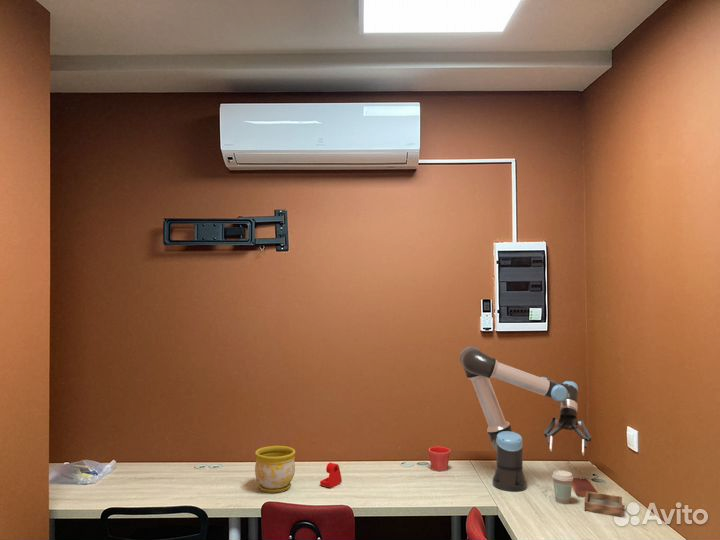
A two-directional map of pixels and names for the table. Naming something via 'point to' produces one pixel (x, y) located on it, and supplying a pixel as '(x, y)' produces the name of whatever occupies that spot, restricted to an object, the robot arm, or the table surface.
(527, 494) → the table surface
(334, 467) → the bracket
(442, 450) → the flower pot
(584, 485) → the wooden tablet
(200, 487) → the table surface
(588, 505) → the wood rimmed frame
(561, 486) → the coffee cup
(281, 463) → the flowerpot
